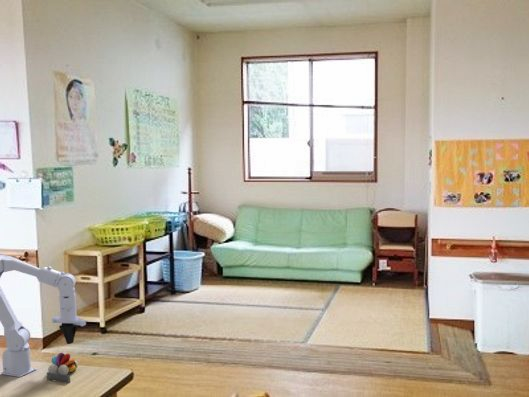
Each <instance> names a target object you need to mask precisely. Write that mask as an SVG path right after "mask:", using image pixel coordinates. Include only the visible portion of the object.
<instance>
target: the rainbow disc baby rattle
mask: <svg viewBox="0 0 529 397" xmlns="http://www.w3.org/2000/svg"><path fill="white" fill-rule="evenodd" d="M78 366H79V365H78V361H77V360H75V358H72V359H71V354H70V353H64V352H60V353H58V354H57V355H56V356H55V355H54V356H52V358H51V364H50V365H49V366H48V371H47V372H53V373H59V374H65V375H69V372H74V371H76V370H77V368H78Z"/></svg>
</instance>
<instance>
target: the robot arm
mask: <svg viewBox="0 0 529 397" xmlns="http://www.w3.org/2000/svg"><path fill="white" fill-rule="evenodd" d="M12 271H16V272H20V273H23V274H26V275H29V276H33V277H36V279H37V281H38V282H40V283H41V284H42V283H43V284H44V285H48V286H51V287H53V288H57V289H58V292H59V295H58V296H59V315H60V316H54V317H51V323H52V324H55V323H57V324H61V325H59V326H58V327H59V328H58V329H59V330H61V332H62V334H63V337H64V340H65V343H66V344H67V345H71V344H73V343H74V341H75V336H76V332H77V330H78V328H79V326H80V327H84V326H86V325H87V320H86V319H83V318H80V317H79V316H78V314H77V300H76V299H77V297H76V288H75V285H76V282H77V280H76V277H75V276H74V275H73V274H72V273H70V272H66V273H65V271H59V270H56V269H53V267H52V266H50V265H49V266H48V267H47V266H43V267H40V268H39V267H37V266H35V265H32V264H30V263H28V262H25V261H22V260H21V259H17V258H16V257H13V256H10V255H6V254H3V253H0V279H1V277H2V275H3V273H6V272H12ZM0 323H1V325H2V327H3V335H4V338H5V344H6V347H7V348H5V349H4V351H3V352H2V356H1V359H2V360H1V361H2V372H1V373H0V374H1V375H5V376H10V377H11V376H12V377H19V378H20V377H21V378H22V377H23V376H25V375H28V374H30V373H33V372H34V371H36V370H37V368H36V367H32V364H31V350H30V348H31V347H30V344H29V340H30V339H31V333H30V331H29V329H28V328H26V327H25V326H24V325H23V323H22V322H21V321H20V320H18V318H17V316H16V314H15V312H14V310H13V308H12V306H11V304H10V303H9V300H8V299H7V297H6V295H5V293H4V291H3V289H2V287H1V286H0Z"/></svg>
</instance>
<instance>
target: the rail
mask: <svg viewBox="0 0 529 397" xmlns="http://www.w3.org/2000/svg"><path fill="white" fill-rule="evenodd" d="M47 379H49V380H48V381H53V380H55V381H54V382H60V383H66V384H70V383H71V375H70V374H67V375H65V374H59V373H53V372H49V371H47V372H46V380H47Z"/></svg>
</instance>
